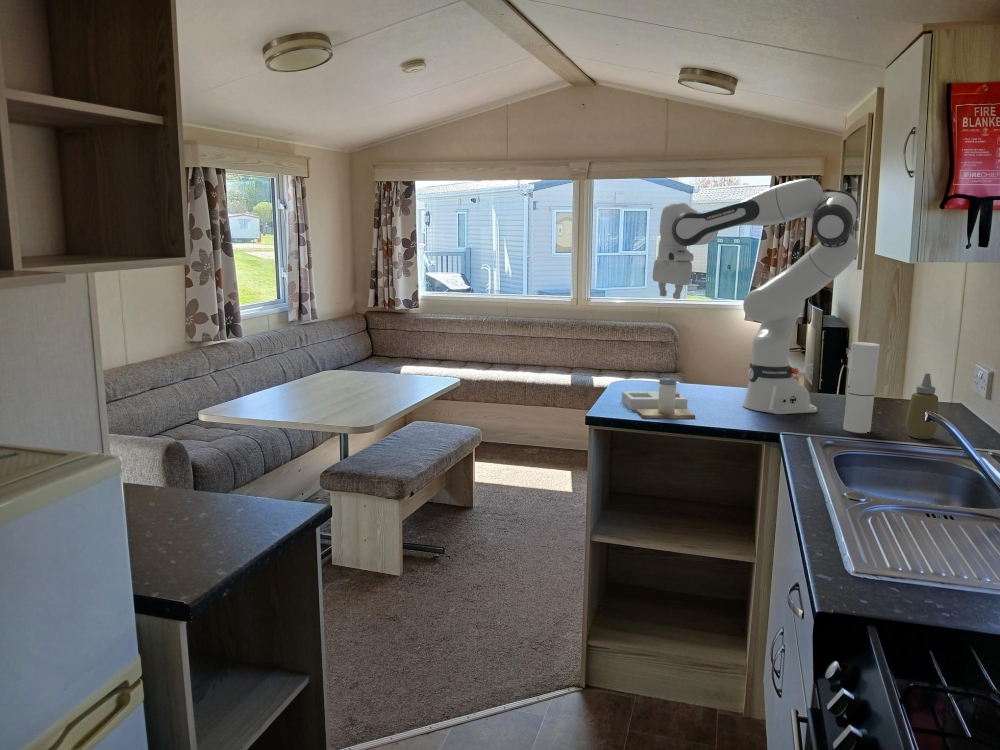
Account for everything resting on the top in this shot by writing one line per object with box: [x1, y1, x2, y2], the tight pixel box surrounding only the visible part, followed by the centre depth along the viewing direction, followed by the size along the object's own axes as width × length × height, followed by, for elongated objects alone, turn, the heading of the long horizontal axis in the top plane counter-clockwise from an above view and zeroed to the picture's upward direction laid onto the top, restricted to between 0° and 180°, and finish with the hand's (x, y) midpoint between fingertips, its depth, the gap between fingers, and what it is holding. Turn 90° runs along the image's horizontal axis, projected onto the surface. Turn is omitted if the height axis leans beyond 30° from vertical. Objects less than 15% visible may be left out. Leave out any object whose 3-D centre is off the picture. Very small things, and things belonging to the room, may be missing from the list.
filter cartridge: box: [658, 377, 677, 414], centre depth 235 cm, size 5×5×10 cm
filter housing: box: [621, 390, 688, 411], centre depth 248 cm, size 18×12×4 cm, turn 95°
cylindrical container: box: [842, 341, 881, 434], centre depth 220 cm, size 7×7×25 cm
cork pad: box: [635, 408, 696, 419], centre depth 236 cm, size 16×8×1 cm, turn 95°
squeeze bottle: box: [905, 372, 939, 440], centre depth 214 cm, size 8×8×18 cm
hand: (669, 297), depth 251 cm, fingers open, 8 cm apart
